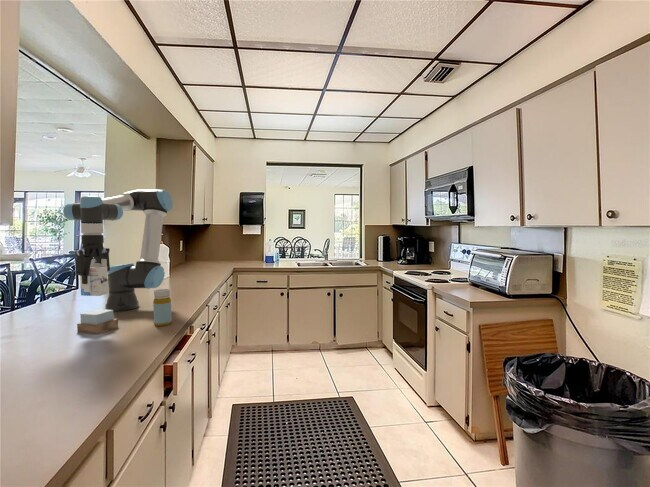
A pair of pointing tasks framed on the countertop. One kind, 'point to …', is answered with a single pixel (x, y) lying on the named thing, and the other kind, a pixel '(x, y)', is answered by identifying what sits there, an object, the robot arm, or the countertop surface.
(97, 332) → the walnut block
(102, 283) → the ink box
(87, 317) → the light grey block
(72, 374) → the countertop surface
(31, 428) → the countertop surface
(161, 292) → the bottle
